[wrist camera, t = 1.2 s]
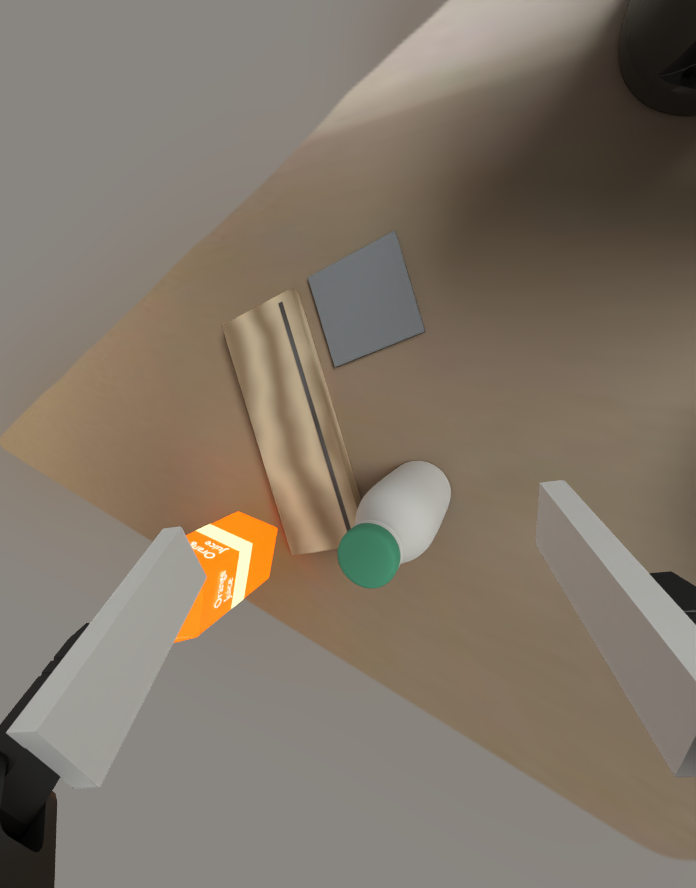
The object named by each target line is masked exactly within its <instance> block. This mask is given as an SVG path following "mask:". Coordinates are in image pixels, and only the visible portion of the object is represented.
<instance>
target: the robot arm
mask: <svg viewBox="0 0 696 888" xmlns="http://www.w3.org/2000/svg"><path fill="white" fill-rule="evenodd" d="M618 52H619V64H620V68H621V72H622V75H623V78H624V80H625V82H626V84H627V86H628V87H629V89H630V90H631V91H632V93H633V94H634V95H635V96H636V97H637V98H638V99H639V100H641V101H642V102H643V103H645V104H646V105H648V106H650V107H652V108H654V109H656V110H658V111H662V112H665V113H669V114H675V115H687V116H688V115H696V0H630V2H629V5H628V8H627V10H626V13H625V16H624V19H623V23H622V27H621V31H620V37H619V49H618ZM535 544H536V546H537V548H538V549H539V551H540V553H541V554H542V556H543V558H544V559H545V561H546V563H547V564H548V566H549V568H550V569H551V571H552V573H553V574H554V576H555V578H556V579H557V581H558V583H559V584H560V586H561V588H562V589H563V591H564V593H565V594H566V596H567V598H568V599H569V601H570V603H571V604H572V606H573V608H574V609H575V611H576V613H577V614H578V616H579V618H580V619H581V621H582V623H583V624H584V626H585V628H586V629H587V631H588V633H589V634H590V636H591V638H592V639H593V641H594V643H595V644H596V646H597V648H598V649H599V651H600V653H601V654H602V656H603V658H604V659H605V661H606V663H607V664H608V666H609V668H610V669H611V671H612V673H613V674H614V676H615V678H616V679H617V681H618V683H619V684H620V686H621V688H622V689H623V691H624V693H625V695H626V696H627V698H628V700H629V701H630V703H631V705H632V706H633V708H634V710H635V711H636V713H637V715H638V716H639V718H640V720H641V721H642V723H643V725H644V726H645V728H646V730H647V731H648V733H649V735H650V736H651V738H652V740H653V741H654V743H655V745H656V746H657V748H658V750H659V751H660V753H661V755H662V756H663V758H664V760H665V761H666V763H667V765H668V766H669V768H670V770H671V771H672V773H673V775H674V776H675V777H696V586H694V585H692V584H691V583H689V582H688V581H686V580H684V579H683V578H681V577H679V576H678V575H676V574H675V573H673V572H660V573H648V572H647V571H646V570H645V569H644V567H643V566H642V565H641V564H640V563H639V562H638V561H637V560H636V559H635V558H634V556H633V555H632V554H631V553H630V552H629V551H628V550H627V549H626V548H625V547H624V545H623V544H622V543H621V542H620V541H619V540H618V539H617V538H616V537H615V536H614V534H613V533H612V532H611V531H610V530H609V529H608V528H607V527H606V526H605V525H604V523H603V522H602V521H601V520H600V519H599V518H598V517H597V516H596V515H595V514H594V512H593V511H592V510H591V509H590V508H589V507H588V506H587V505H586V504H585V503H584V501H583V500H582V499H581V498H580V497H579V496H578V495H577V494H576V493H575V492H574V490H573V489H572V488H571V487H570V486H569V485H568V484H567V483H566V482H565V481H564V480H559V481H551V482H542V483H540V487H539V501H538V515H537V529H536V543H535ZM206 578H207V576H206V574H205V572H204V570H203V568H202V566H201V564H200V562H199V560H198V558H197V556H196V554H195V552H194V550H193V548H192V547H191V545H190V543H189V541H188V539H187V537H186V535H185V533H184V531H183V529H182V527H181V526H180V527H172V528H164V529H162V531H161V532H160V533H159V534H158V536H157V537H156V538H155V540H154V541H153V542H152V544H151V545H150V546H149V547H148V549H147V550H146V551H145V553H144V554H143V555H142V557H141V558H140V559H139V560H138V562H137V563H136V564H135V566H134V567H133V568H132V569H131V571H130V572H129V573H128V575H127V576H126V577H125V579H124V580H123V581H122V583H121V584H120V585H119V586H118V588H117V589H116V590H115V592H114V593H113V594H112V595H111V597H110V598H109V599H108V601H107V602H106V603H105V605H104V606H103V607H102V608H101V610H100V611H99V612H98V614H97V615H96V616H95V617H94V619H93V620H92V621H91V623H86V624H85V625H84V626H83V627H82V628H80V629H79V630H78V631H77V632H76V633H75V634H74V635H72V636H71V637H70V638H69V639H68V640H67V642H66V643H65V644H64V645H63V646H62V648H61V649H60V650H59V652H58V653H57V654H56V655H55V656H54V660H53V661H50V663H49V664H48V665H47V667H46V668H45V669H44V670H43V672H42V675H41V676H39V677H38V678H37V679H36V681H35V682H34V683H33V684H32V686H31V687H30V688H29V689H28V690H27V692H26V693H25V694H24V695H23V697H22V698H21V699H20V700H19V702H18V703H17V704H16V705H15V707H14V708H13V709H12V711H11V712H10V713H9V714H8V716H7V717H6V718H5V719H4V721H3V722H2V723H1V725H0V888H54V879H55V849H56V820H57V799H56V794H55V793H54V792H53V791H52V790H53V788H54V787H55V785H56V783H57V781H58V780H59V778H61V779H62V780H64V781H65V782H66V783H67V784H68V785H70V786H71V787H72V788H100V786H101V784H102V782H103V780H104V778H105V776H106V774H107V773H108V771H109V769H110V767H111V765H112V763H113V761H114V759H115V757H116V755H117V753H118V751H119V749H120V747H121V745H122V743H123V741H124V739H125V737H126V735H127V733H128V731H129V729H130V727H131V725H132V724H133V722H134V720H135V718H136V716H137V713H138V712H139V710H140V708H141V706H142V704H143V702H144V700H145V698H146V696H147V694H148V692H149V690H150V688H151V686H152V684H153V682H154V680H155V678H156V676H157V675H158V673H159V670H160V669H161V667H162V665H163V663H164V661H165V659H166V657H167V655H168V653H169V651H170V649H171V647H172V645H173V643H174V641H175V639H176V637H177V635H178V633H179V631H180V629H181V627H182V625H183V624H184V622H185V620H186V618H187V616H188V614H189V612H190V610H191V608H192V606H193V604H194V602H195V600H196V598H197V596H198V594H199V592H200V590H201V588H202V586H203V584H204V582H205V580H206Z"/></svg>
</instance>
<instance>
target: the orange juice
mask: <svg viewBox="0 0 696 888" xmlns="http://www.w3.org/2000/svg"><path fill="white" fill-rule="evenodd" d="M277 529H278V528H276V527H274V526H272V525H269V524H267V523H265V522H262V521H260V520H258V519H255V518H253V517H250V516H248V515H246V514H243V513H241V512H239V511H238V512H236V513H234V514H231V515H229V516H227V517H225V518H223V519H220V520H218V521H216V522H214V523H212V524H209V525H206V526H204V527H202V528H200V529H198V530H196V531H194V532H192V533H190V534H188V535H186V537H187V539H188V541H189V543H190V545H191V547H192V548H193V550H194V552H195V554H196V556H197V558H198V560H199V562H200V564H201V566H202V568H203V570H204V572H205V574H206V576H207V578H206V580H205V582H204V584H203V586H202V588H201V590H200V592H199V594H198V596H197V598H196V600H195V602H194V604H193V606H192V608H191V610H190V612H189V614H188V616H187V618H186V620H185V622H184V624H183V625H182V627H181V629H180V631H179V633H178V635H177V637H176V639H175V641H174V643H175V642H179V641H183V640H187V639H191V638H195V637H198V635H200V634H201V633H202V632H203V631H204V630H206V629H207V628H208V627H209V626H211V625H212V624H213V623H214V622H215V621H217V620H218V619H219V618H220V617H222V616H223V615H224V614H225V613H226V612H228V611H229V610H230V609H232V608H233V607H234V606H236V605H237V604H238V603H239V602H241V601H242V600H243V599H244V598H245V597H246V596H247V595H249V594H250V593H251V592H252V591H254V590H255V589H256V588H257V587H258V586H260V585H261V584H262V583H263V582H265V581H266V580H267V579H268V578H269V574H270V569H271V563H272V557H273V552H274V546H275V540H276V535H277Z"/></svg>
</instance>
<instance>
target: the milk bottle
mask: <svg viewBox="0 0 696 888" xmlns="http://www.w3.org/2000/svg"><path fill="white" fill-rule="evenodd" d="M450 498H451V489H450V484H449V482H448V479H447V478H446V476H445V475H444V473H443V472H442V471H441V470H440V469H439V468H437V467H436V466H435V465H433V464H431V463H428V462H425V461H410V462H407V463H404V464H402V465H401V466H399V467H398V468H396V469H395V470H394V471H392V472H391V473H390V474H388V475H387V476H386V477H384V478H383V479H382V480H381V481H379V482H378V483H377V484H376V485H374V486H373V487H372V488H371V489H370V490H369V491H368V492H367V493H366V495H365V496H364V497H363V499H362V500H361V502H360V504H359V507H358V509H357V512H356V518H355V525H354V526H353V527H352V528H351V529H350V530H349V531H348V532H347V533H346V534H345V535H344V536H343V537H342V539H341V541H340V543H339V546H338V561H339V564H340V567H341V569H342V571H343V572H344V574H345V575H346V576H347V577H348V578H349V579H350V580H351V581H352V582H354V583H355V584H357V585H359V586H361V587H364V588H378V587H381V586H383V585H385V584H387V583H388V582H389V581H390V580H391V579H392V578H393V577H394V575H395V574H396V572H397V570H398V568H399V566H400V564H401V563H406V562H409V561H411V560H413V559H415V558H417V557H418V556H420V555H421V554H422V553H423V552H424V551H425V550H426V549H427V548H428V547H429V546H430V544H431V543H432V541H433V539H434V537H435V536H436V534H437V532H438V529H439V527H440V525H441V523H442V520H443V518H444V516H445V513H446V511H447V508H448V506H449V503H450Z"/></svg>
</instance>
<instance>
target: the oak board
mask: <svg viewBox="0 0 696 888" xmlns="http://www.w3.org/2000/svg"><path fill="white" fill-rule="evenodd" d="M222 328H223V332H224V335H225V338H226V341H227V345H228V348H229V351H230V355H231V358H232V361H233V364H234V368H235V371H236V374H237V377H238V381H239V384H240V387H241V391H242V394H243V397H244V400H245V404H246V407H247V410H248V414H249V417H250V420H251V423H252V427H253V430H254V433H255V437H256V440H257V443H258V446H259V450H260V453H261V456H262V459H263V463H264V466H265V469H266V473H267V476H268V479H269V482H270V486H271V489H272V492H273V496H274V499H275V502H276V505H277V509H278V512H279V515H280V519H281V522H282V525H283V528H284V532H285V535H286V538H287V541H288V545H289V548H290V551H291V555H292V556H293V555H300V554H306V553H313V552H319V551H325V550H332V549H338V546H339V543H340V541H341V539H342V537H343V536H344V535H345V534H346V533H347V532H348V531H349V530H350V529H351V528H352V527H353V526H354V525H355V518H356V512H357V509H358V507H359V504H360V502H361V497H360V494H359V491H358V487H357V484H356V481H355V477H354V474H353V471H352V468H351V464H350V461H349V458H348V454H347V451H346V448H345V444H344V441H343V438H342V434H341V431H340V428H339V424H338V421H337V418H336V414H335V411H334V408H333V404H332V401H331V398H330V394H329V391H328V388H327V384H326V381H325V378H324V374H323V371H322V368H321V364H320V361H319V358H318V354H317V351H316V348H315V344H314V341H313V338H312V334H311V331H310V328H309V324H308V321H307V318H306V314H305V311H304V308H303V304H302V301H301V298H300V294H299V292H297V291H295V290H293V289H291V288H290V289H289V290H287V291H285V292H283V293H281V294H279V295H278V296H276V297H274V298H272V299H270V300H268V301H266V302H265V303H263V304H261V305H259V306H257V307H255V308H253V309H252V310H250V311H248V312H246V313H244V314H242V315H241V316H239V317H237V318H235V319H233V320H231V321H229V322H228V323H226V324H224V325H222Z"/></svg>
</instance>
